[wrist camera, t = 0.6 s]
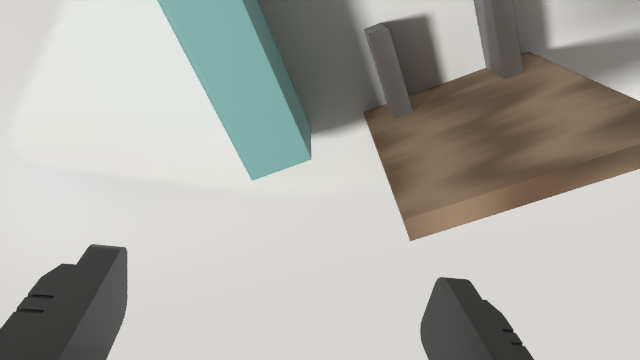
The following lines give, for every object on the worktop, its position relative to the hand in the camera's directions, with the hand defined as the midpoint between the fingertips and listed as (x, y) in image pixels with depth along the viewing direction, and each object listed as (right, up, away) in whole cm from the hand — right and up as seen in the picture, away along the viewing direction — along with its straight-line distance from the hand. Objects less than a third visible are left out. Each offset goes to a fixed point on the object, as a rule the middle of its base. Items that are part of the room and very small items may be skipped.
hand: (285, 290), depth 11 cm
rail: (-5, +13, +17) cm, 22 cm away
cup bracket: (+9, +11, +18) cm, 23 cm away
